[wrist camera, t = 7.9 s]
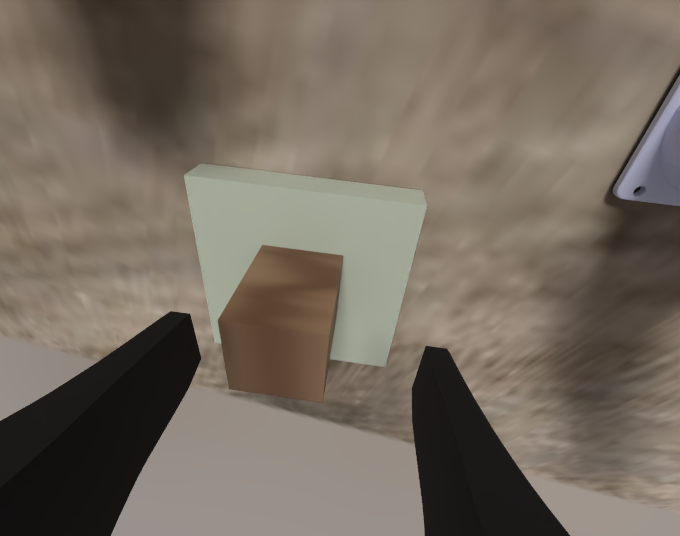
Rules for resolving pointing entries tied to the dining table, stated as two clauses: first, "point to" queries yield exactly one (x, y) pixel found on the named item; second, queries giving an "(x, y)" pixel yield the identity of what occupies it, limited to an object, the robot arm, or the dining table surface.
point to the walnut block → (282, 323)
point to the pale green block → (311, 243)
